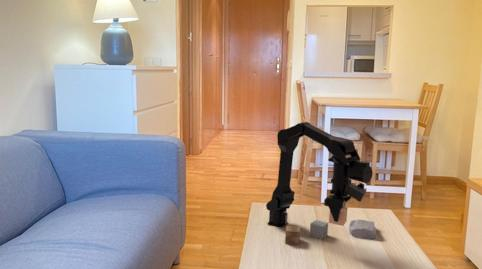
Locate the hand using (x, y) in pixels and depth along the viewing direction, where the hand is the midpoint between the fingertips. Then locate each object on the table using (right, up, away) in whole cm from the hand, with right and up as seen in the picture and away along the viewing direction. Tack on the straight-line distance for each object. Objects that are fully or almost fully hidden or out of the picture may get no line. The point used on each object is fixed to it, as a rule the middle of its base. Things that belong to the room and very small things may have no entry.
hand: (337, 219), depth 143 cm
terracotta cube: (0, -1, 0) cm, 1 cm away
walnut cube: (-15, -10, +7) cm, 19 cm away
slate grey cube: (-4, -9, +13) cm, 17 cm away
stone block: (+13, -9, +17) cm, 24 cm away
